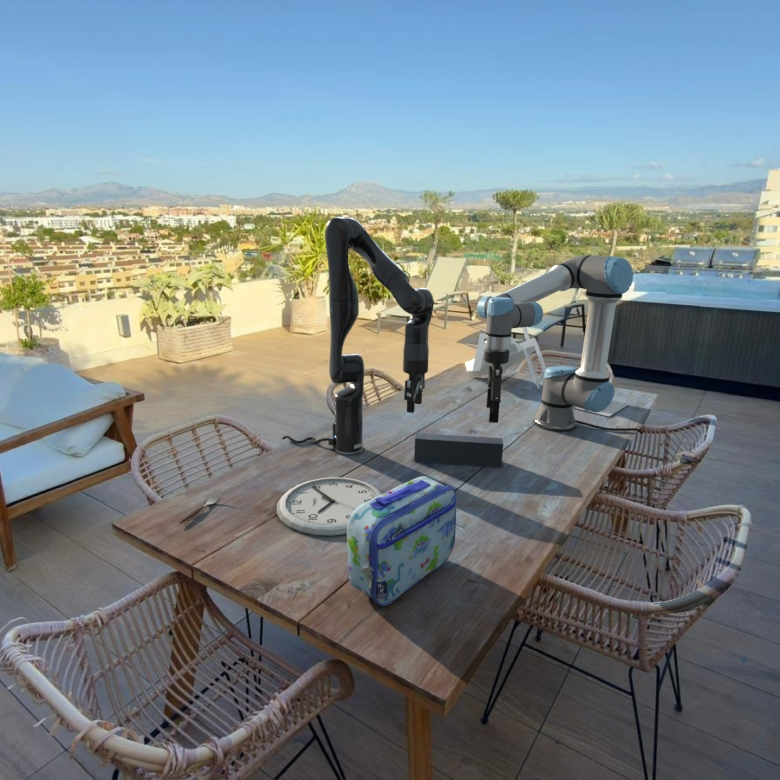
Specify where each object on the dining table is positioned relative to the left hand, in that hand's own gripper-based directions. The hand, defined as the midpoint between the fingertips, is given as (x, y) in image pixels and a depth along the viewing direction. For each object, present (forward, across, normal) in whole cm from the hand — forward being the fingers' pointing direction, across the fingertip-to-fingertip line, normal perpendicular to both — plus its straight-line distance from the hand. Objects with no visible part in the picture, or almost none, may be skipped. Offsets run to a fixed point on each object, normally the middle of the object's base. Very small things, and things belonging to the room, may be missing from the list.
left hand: (414, 408), depth 161 cm
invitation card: (+20, -86, +61) cm, 107 cm away
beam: (+20, -10, +12) cm, 25 cm away
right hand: (+3, -12, +22) cm, 25 cm away
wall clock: (+20, +30, -14) cm, 39 cm away
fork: (+20, +45, -46) cm, 67 cm away
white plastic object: (+19, -106, +16) cm, 109 cm away
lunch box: (+20, +54, +13) cm, 59 cm away
